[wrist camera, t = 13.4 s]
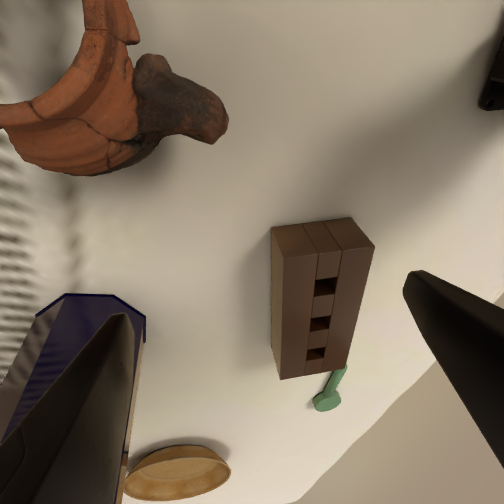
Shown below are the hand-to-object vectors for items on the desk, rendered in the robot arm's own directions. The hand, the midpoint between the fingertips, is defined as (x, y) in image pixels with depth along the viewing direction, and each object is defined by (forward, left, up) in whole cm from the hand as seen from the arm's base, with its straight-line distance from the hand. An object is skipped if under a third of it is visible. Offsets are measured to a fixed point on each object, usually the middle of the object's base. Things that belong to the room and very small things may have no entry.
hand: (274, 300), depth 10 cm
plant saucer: (+11, +44, -13) cm, 47 cm away
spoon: (-11, +25, -12) cm, 30 cm away
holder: (-6, +13, -13) cm, 19 cm away
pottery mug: (+6, -5, -13) cm, 15 cm away
